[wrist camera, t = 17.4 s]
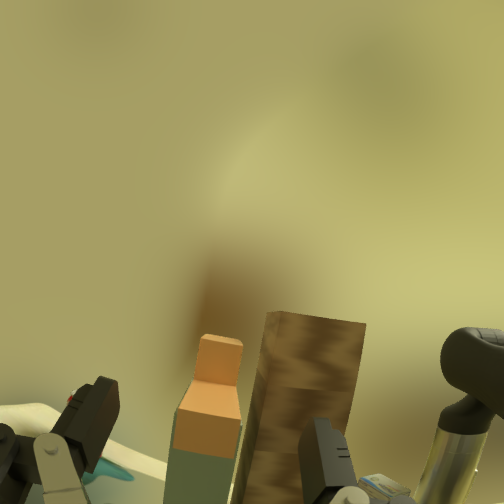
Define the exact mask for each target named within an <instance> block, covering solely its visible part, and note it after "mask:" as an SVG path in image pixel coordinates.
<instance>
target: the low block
mask: <svg viewBox="0 0 504 504" xmlns="http://www.w3.org/2000/svg"><path fill="white" fill-rule="evenodd" d="M193 379H194V377H193ZM193 379H192V381H193ZM192 381H191V382H190V385H191V383H192ZM190 385H189V386H188V388H187V390H186V392H187V391H188V389H189V387H190ZM186 392H185V394H186ZM185 394H184V396H185ZM184 396H183V398H184ZM183 398H182V400H183ZM182 400H181V402H182ZM181 402H180V404H181ZM180 404H179V406H180ZM179 406H178V407H177V409H176V411H175V413H174V420H173V427H172V434H171V441H170V449H169V457H168V465H167V473H166V482H165V491H164V500H163V504H227V500H228V495H229V491H230V486H231V481H232V476H233V471H234V466H235V461H236V456H237V451H238V446H239V441H240V436H241V431H242V426H243V425H242V420H241V424H240V429H239V434H238V439H237V444H236V449H235V454H234V459H231V458H224V457H217V456H211V455H205V454H200V453H194V452H189V451H184V450H180V449H175V448H173V441H174V434H175V427H176V420H177V413H178V408H179ZM239 409H240V408H239Z"/></svg>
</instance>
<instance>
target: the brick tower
mask: <svg viewBox="0 0 504 504" xmlns="http://www.w3.org/2000/svg"><path fill="white" fill-rule="evenodd" d="M365 330H366V324H365V323H358V322H350V321H343V320H336V319H329V318H322V317H315V316H309V315H302V314H296V313H290V312H284V311H277V312H268V313H267V316H266V321H265V327H264V332H263V338H262V344H261V349H260V356H259V361H258V366H257V372H256V377H255V382H254V388H253V393H252V398H251V404H250V408H249V414H248V419H247V424H246V429H245V435H244V439H243V444H242V449H241V454H240V459H239V464H238V468H237V473H236V478H235V483H234V487H233V492H232V497H231V501H230V504H304V500H303V491H302V482H301V473H300V464H299V456H298V443H299V439H300V436H301V434H302V432H303V430H304V428H305V426H306V424H307V422H308V420H309V418H310V417H327V418H329V419H330V422H331V426H332V429H335V430H339V431H340V432H341V433H342V435H343V436H344V434H345V430H346V426H347V422H348V418H349V414H350V410H351V405H352V401H353V396H354V391H355V386H356V381H357V377H358V371H359V366H360V360H361V354H362V349H363V343H364V336H365Z"/></svg>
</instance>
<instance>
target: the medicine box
mask: <svg viewBox="0 0 504 504" xmlns="http://www.w3.org/2000/svg"><path fill="white" fill-rule="evenodd" d="M358 487H359V488H360V489H362V490H364V491H365V492H366V493H367V495H368V496H369V497H371V498H375V499H381V500H387V501H390V500H391V499H393V498H394V497H396V496H399V495H406V496H409V495H410V493H411V490H410V489H408V488H406V487H404V486H402V485H400V484H398V483H397V482H395V481H393V480H391V479H389V478H387V477H385V476H383V475H382V474H375V475H370V476H366V477H362V478H359V481H358Z"/></svg>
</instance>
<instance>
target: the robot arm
mask: <svg viewBox="0 0 504 504" xmlns="http://www.w3.org/2000/svg"><path fill="white" fill-rule="evenodd" d="M440 363H441V369H442V373H443V375H444V377H445V379H446V381H447V382H448V383H449V384H450V385H452V386H453V387H455V388H457V389H460V390H462V391H463V392H466V393H467V396H465V398H463V399H462V400H460V401H459V402H457V403H455V404H452V405H450V406H448V407H446V408H445V409H443V411H442V412H441V414H440V418H439V422H438V426H437V429H436V433H435V436H434V440H433V443H432V447H431V450H430V453H429V456H428V459H427V462H426V465H425V468H424V471H423V473H422V476H421V479H420V482H419V484H418V487H417V489H416V492H415V494H414V497H413V499H412V498H411V497H409V496H406V495H399V496H396V497H394V498H393V499H391V500H390V501H387V500H381V499H375V498H371V497H369V496H368V495H367V493H366V492H365V491H364V490H362V489H360V488H359V487H358V484H357V481H356V477H355V473H354V469H353V465H352V461H351V458H350V454H349V450H348V446H347V443H346V439H345V437H344V436H343V435H342V433H341V432H340V431H339V430H335V429H332V426H331V422H330V419H329V418H327V417H310V418H309V420H308V422H307V424H306V426H305V428H304V430H303V432H302V434H301V436H300V439H299V443H298V456H299V464H300V473H301V482H302V491H303V500H304V504H464V503H465V501H466V499H467V497H468V494H469V492H470V490H471V487H472V485H473V483H474V480H475V478H476V475H477V472H478V471H477V469H476V467H477V465H478V462H479V459H480V456H481V453H482V450H483V447H484V444H485V441H486V437H487V434H488V430H489V427H490V424H491V421H492V420H493V418H494V416H495V414H497V415H499V416H500V417H501V418H502V419H504V332H503V331H501V330H498V329H487V328H472V327H465V328H460V329H458V330H456V331H454V332H452V333H451V334H450V335H449V337H448V338H447V339H446V341H445V342H444V344H443V347H442V350H441V356H440ZM119 409H120V401H119V391H118V382H117V381H116V380H113V379H109V378H106V377H103V376H99V377H98V378H97V380H96V382H95V383H94V385H90V384H85V385H84V386H82V387H81V388H79V389H77V391H76V392H75V394H74V395H73V397H72V400H70V402H69V403H68V406H67V407H66V408H65V410H64V411H63V413H62V414H61V416H60V417H59V419H58V421H57V422H56V424H55V426H54V427H53V429H52V430H51V431H50V432H49V433H44V434H41V435H40V436H38V437H37V438H32V437H26V436H21V435H16V434H15V433H14V431H13V429H12V428H11V427H10V426H8V425H6V424H3V423H0V504H24V503H25V501H26V498H27V496H28V493H29V491H30V489H31V487H32V484H33V483H35V484H40V485H43V488H44V493H43V498H44V502H45V504H91V502H90V500H89V497H88V495H87V493H86V490H85V487H84V485H83V482H82V479H81V478H82V476H83V473H84V471H85V472H88V473H91V474H93V472H94V469H95V467H96V465H97V462H98V460H99V458H100V455H101V453H102V451H103V449H104V446H105V444H106V442H107V440H108V437H109V435H110V433H111V431H112V429H113V426H114V424H115V422H116V420H117V417H118V414H119Z"/></svg>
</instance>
